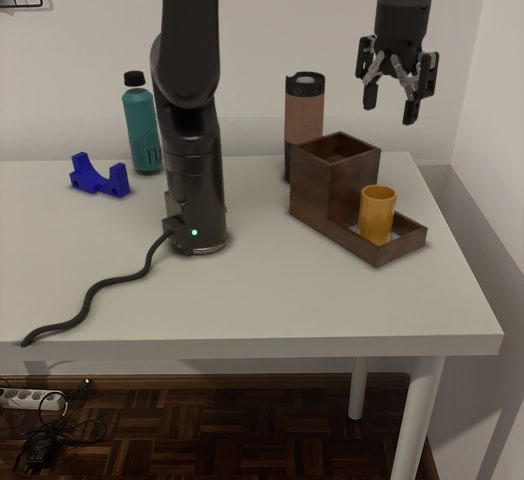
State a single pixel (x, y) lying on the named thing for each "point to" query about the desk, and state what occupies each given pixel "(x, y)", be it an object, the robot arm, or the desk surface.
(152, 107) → the beverage bottle
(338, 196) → the organizer
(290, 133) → the travel mug
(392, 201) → the cup
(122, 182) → the blue curved bracket
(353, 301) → the desk surface
